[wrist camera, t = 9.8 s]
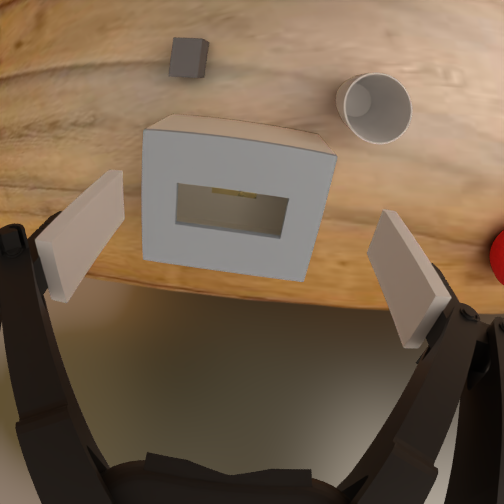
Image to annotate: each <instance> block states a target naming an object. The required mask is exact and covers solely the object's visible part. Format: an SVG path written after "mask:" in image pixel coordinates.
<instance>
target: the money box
mask: <svg viewBox="0 0 504 504" xmlns="http://www.w3.org/2000/svg"><path fill="white" fill-rule="evenodd" d="M336 161H337V156H336V154H335V153H334V152H333V151H332V150H331V148H330V147H329V146H328V145H327V144H326V143H325V141H324V140H323V139H322V138H321V137H320V136H319V134H315V133H311V132H305V131H300V130H295V129H289V128H284V127H278V126H272V125H266V124H259V123H253V122H246V121H238V120H230V119H222V118H214V117H204V116H194V115H182V114H171V115H170V116H168V117H166V118H164V119H162V120H160V121H158V122H157V123H155V124H153V125H151V126H150V127H148V128H146V129H144V130H143V151H142V246H143V260H149V261H156V262H162V263H169V264H176V265H183V266H189V267H196V268H203V269H210V270H217V271H224V272H232V273H239V274H246V275H254V276H261V277H268V278H276V279H284V280H292V281H299V282H304V278H305V275H306V272H307V268H308V265H309V261H310V258H311V255H312V251H313V248H314V244H315V240H316V237H317V233H318V230H319V226H320V222H321V219H322V215H323V211H324V208H325V204H326V200H327V196H328V192H329V188H330V185H331V181H332V177H333V173H334V169H335V165H336ZM212 187H214V188H222V189H229V190H237V191H244V192H251V193H257V197H256V199H253V198H246V197H239V196H232V195H225V194H218V193H212Z"/></svg>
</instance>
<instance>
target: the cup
mask: <svg viewBox="0 0 504 504" xmlns="http://www.w3.org/2000/svg"><path fill="white" fill-rule="evenodd" d="M336 107H337V110H338V112H339V115H340V117H341V119H342V120H343V122H344V123H345V124H346V125H347V126H348V127H349V128H350V129H351V130H352V131H353V132H354V133H355V134H356V135H357V136H358V137H359V138H361V139H362V140H364V141H366V142H369V143H373V144H387V143H390V142H393V141H395V140H397V139H398V138H399V137H401V136H402V135H403V134H404V133H405V131H406V130H407V128H408V126H409V124H410V122H411V118H412V102H411V99H410V96H409V94H408V92H407V90H406V88H405V87H404V86H403V85H402V84H401V83H400V82H399V81H398V80H397V79H395V78H394V77H392V76H390V75H387V74H384V73H368V74H360V75H356V76H354V77H352V78H350V79H349V80H347V81H345V82H344V83H343V84H342V85H341V86H340V87H339V89H338V91H337V94H336Z"/></svg>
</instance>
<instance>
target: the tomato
mask: <svg viewBox="0 0 504 504" xmlns="http://www.w3.org/2000/svg"><path fill="white" fill-rule="evenodd" d="M490 264H491V267H492V270H493V272H494V274H495V276H496V278H497V279H498V280H499V282H500V283H501V284H503V285H504V230H503V231H502V232H501V233H500V234H499V235H498V236H497V237H496V239H495V240H494V242H493V244H492V246H491V250H490Z"/></svg>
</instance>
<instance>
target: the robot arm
mask: <svg viewBox="0 0 504 504" xmlns="http://www.w3.org/2000/svg"><path fill="white" fill-rule="evenodd" d="M124 219H125V216H124V197H123V171H121V170H108V171H107V172H106V173H105V174H103V175H102V176H101V177H100V178H99V179H98V180H96V181H95V182H94V183H93V184H92V185H91V186H90V187H88V188H87V189H86V190H85V191H84V192H83V193H82V194H81V195H80V196H79V197H77V198H76V199H75V200H74V201H73V202H72V203H71V204H70V205H69V206H68V207H67V208H66V209H65V210H64V211H59V212H57V213H56V214H54V215H52V216H50V217H49V218H48V219H47V220H46V221H45V222H44V224H42V225H41V226H40V227H39V229H37V230H36V231H35V232H34V233H33V234H32V235H31V236H30V237H29V238H28V239H27V237H26V233H25V228H24V226H23V225H21V224H9V225H7V226H4V227H2V228H1V229H0V328H1V323H2V326H3V334H4V343H5V350H6V355H7V362H8V368H9V373H10V379H11V384H12V388H13V392H14V397H15V401H16V406H17V409H18V413H19V418H20V419H19V422H17V423H16V433H17V436H18V440H19V444H20V446H21V450H22V453H23V456H24V459H25V461H26V465H27V468H28V471H29V473H30V476H31V479H32V481H33V484H34V486H35V489H36V491H37V494H38V496H39V498H40V501H41V503H42V504H424V502H425V500H426V498H427V496H428V494H429V492H430V490H431V488H432V486H433V484H434V482H435V480H436V478H437V475H438V468H436V467H434V462H435V460H436V458H437V455H438V453H439V451H440V449H441V446H442V444H443V442H444V439H445V437H446V434H447V432H448V430H449V427H450V424H451V422H452V419H453V416H454V414H455V411H456V408H457V405H458V403H459V400H460V407H459V418H458V427H457V436H456V444H455V450H454V457H453V463H452V469H451V475H450V479H449V484H448V489H447V494H446V498H445V502H444V504H504V318H501V317H496V318H495V319H494V320H493V322H492V323H491V325H489V324H486V323H483V322H481V321H480V317H479V315H478V313H477V312H476V311H475V310H474V309H473V308H472V307H470V306H468V305H466V304H463V303H460V302H459V301H458V299H457V297H456V295H455V294H454V292H453V290H452V289H451V287H450V286H449V284H448V282H447V280H445V277H444V276H443V274H442V272H441V271H440V270H439V269H438V268H437V267H436V266H435V265H434V264H433V263H430V261H429V259H428V258H427V256H426V255H425V253H424V252H423V250H422V249H421V247H420V246H419V244H418V243H417V241H416V240H415V238H414V237H413V235H412V234H411V232H410V231H409V229H408V228H407V226H406V225H405V224H404V222H403V221H402V219H401V218H400V216H399V215H398V214H397V212H396V211H391V210H387V209H383V211H382V213H381V216H380V219H379V222H378V225H377V227H376V230H375V233H374V236H373V238H372V241H371V244H370V246H369V249H368V252H367V255H368V257H369V260H370V262H371V264H372V267H373V269H374V272H375V274H376V276H377V279H378V281H379V284H380V286H381V289H382V291H383V294H384V296H385V299H386V301H387V304H388V307H389V309H390V312H391V315H392V317H393V320H394V323H395V325H396V328H397V331H398V334H399V336H400V339H401V342H402V345H403V348H419V347H420V346H421V344H422V343H423V341H424V340H425V338H426V339H427V341H428V344H429V345H428V347H427V348H426V350H425V351H424V353H423V354H422V355H421V356H420V358H419V359H418V361H417V362H416V363H417V364H418V365H417V367H416V369H415V371H414V373H413V375H412V377H411V379H410V381H409V382H408V384H407V386H406V388H405V390H404V392H403V393H402V395H401V397H400V399H399V400H398V402H397V404H396V405H395V407H394V409H393V411H392V412H391V414H390V415H389V417H388V419H387V420H386V422H385V424H384V425H383V427H382V428H381V430H380V431H379V433H378V434H377V436H376V438H375V439H374V441H373V442H372V444H371V445H370V447H369V448H368V449H367V451H366V452H365V454H364V455H363V457H362V458H361V459H360V461H359V462H358V464H357V465H356V466H355V468H354V469H353V470H352V472H351V473H350V474H349V475H348V476H347V477H346V479H344V480H343V481H342V482H341V484H339V485H338V486H337V488H335V487H334V486H332V485H330V484H328V483H325V482H323V481H320V480H317V479H314V478H312V474H311V469H310V470H309V469H304V470H303V469H301V470H300V469H268V470H263V471H257V472H251V473H245V474H237V475H226V474H223V473H220V472H217V471H215V470H212V469H209V468H206V467H204V466H201V465H198V464H196V463H193V462H191V461H188V460H184V459H178V458H173V457H168V456H163V455H158V454H153V453H149V452H147V455H146V460H138V461H130V462H126V463H122V464H119V465H116V466H113V467H111V468H110V467H109V465H108V463H107V462H106V460H105V458H104V457H103V455H102V453H101V452H100V450H99V448H98V447H97V445H96V443H95V441H94V439H93V436H92V434H91V432H90V430H89V428H88V425H87V423H86V421H85V419H84V416H83V414H82V412H81V409H80V407H79V404H78V402H77V399H76V397H75V394H74V392H73V389H72V387H71V384H70V381H69V378H68V376H67V373H66V370H65V367H64V364H63V361H62V358H61V355H60V352H59V349H58V345H57V342H56V339H55V336H54V332H53V328H52V325H51V321H50V317H49V313H48V310H47V306H46V301H45V298H44V295H43V294H44V293H45V291H46V289H47V288H48V290H49V293H50V296H51V298H52V300H56V301H61V302H65V303H68V301H69V299H70V298H71V296H72V295H73V293H74V291H75V290H76V288H77V287H78V285H79V284H80V282H81V281H82V279H83V278H84V276H85V274H86V273H87V271H88V270H89V269H90V267H91V266H92V264H93V263H94V261H95V260H96V258H97V257H98V255H99V254H100V252H101V251H102V250H103V248H104V247H105V245H106V244H107V243H108V241H109V240H110V238H111V237H112V236H113V234H114V233H115V231H116V230H117V229H118V227H119V226H120V225H121V223H122V222H123V221H124Z"/></svg>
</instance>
